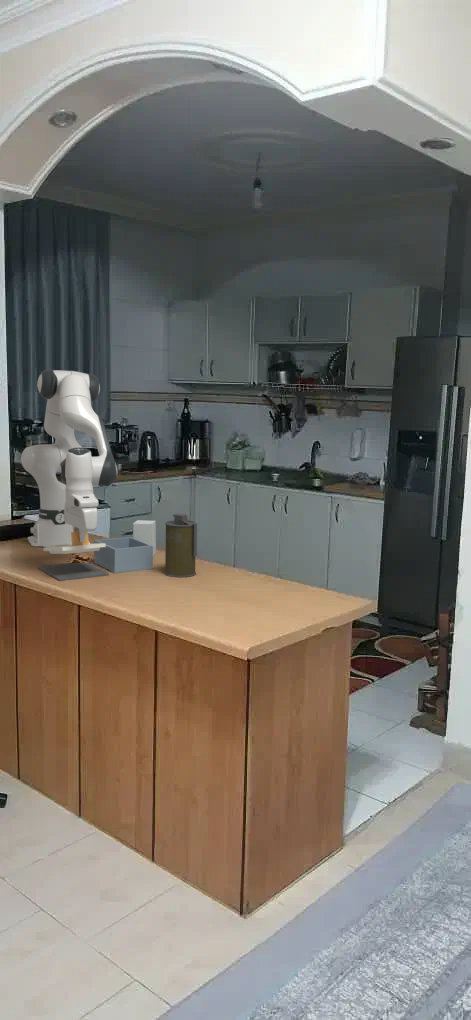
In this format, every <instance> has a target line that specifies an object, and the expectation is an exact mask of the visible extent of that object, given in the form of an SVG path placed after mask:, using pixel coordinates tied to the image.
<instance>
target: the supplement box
mask: <svg viewBox="0 0 471 1020" xmlns="http://www.w3.org/2000/svg"><path fill="white" fill-rule="evenodd" d="M156 523H157V521H156V520H147V519H146V520H140V519H137V520H136V521H134V522H133V523H132V538H135V539H137V540H140V541H142V542H145V543H147V544H150V545H152V546H153V557H155V555H156V553H157V535H156V534H157V528H156V527H157V526H156V525H157V524H156Z"/></svg>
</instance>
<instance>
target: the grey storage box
mask: <svg viewBox="0 0 471 1020" xmlns="http://www.w3.org/2000/svg"><path fill="white" fill-rule="evenodd" d="M95 543H105V545H106V547H100V550H99V551H93V561H94V562H93V563H95V564H97V565H98V566H100V567H103V568H104V569H106V570H107V571H110V572H113V573H114V574H117V573H118V574H119V573H127V572H135V571H137V572H138V571H144V570H153V568H154V565H153V564H154V556H153V546H152V545H150V544H147V543H145V542H142V541H140V540H137V539H135V538H133V536H132V537H131V536H127V537H125V536H124V537H115V538H103V539H101V538H100V539H94V540H93V544H95Z"/></svg>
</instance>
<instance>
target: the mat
mask: <svg viewBox="0 0 471 1020" xmlns="http://www.w3.org/2000/svg"><path fill="white" fill-rule="evenodd" d="M38 569H39V570H41V571H42V572H44V573H46V574H47V575H49V576H51V578H54V580H57V581H58V582H62V581H71V580H79V579H88V578H96V577H97V578H98V577H104V576H110V573H109V572H106V570H103V569H101V568H99V567H98V566H95V565H94V564H92V563H90V562H88V563H77V562H69V563H58V564H50V565H41V566H38Z"/></svg>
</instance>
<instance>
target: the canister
mask: <svg viewBox="0 0 471 1020" xmlns="http://www.w3.org/2000/svg"><path fill="white" fill-rule="evenodd" d="M172 517H173V518H174V519H173V520H168V521H165V522H164V524H165V556H164V557H165V564H164V565H165V569H164V575H165V576H168V577H171V578H188V577H189V578H191V577H193V576H195V575H197V572H196V556H198V547H197V546H198V523H197V522H196V521H194V520H189V519H188V515H187V514H186V513H185V514H183V513H182V514H181V513H176V514H173V515H172Z"/></svg>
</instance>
